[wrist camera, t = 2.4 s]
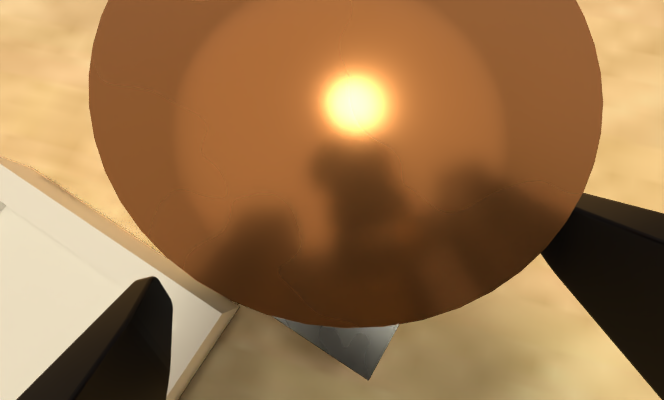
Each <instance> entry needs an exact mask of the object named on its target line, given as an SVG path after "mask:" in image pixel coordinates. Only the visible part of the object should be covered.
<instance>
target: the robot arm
mask: <svg viewBox="0 0 664 400" xmlns="http://www.w3.org/2000/svg"><path fill="white" fill-rule="evenodd" d="M541 255H542V256H543V258H544V259H545V260H546V262H547V263H548V265H549V266H550V267H551V269H552V270H553V271H554V273H555V274H556V275H557V276H558V278H559V279H560V280H561V281H562V282H563V283H564V285H565V286H566V287H567V288H568V289H569V291H570V292H571V293H572V294H573V295H574V296H575V298H576V299H577V300H578V301H579V302H580V304H581V305H582V306H583V307H584V308H585V309H586V311H587V312H588V313H589V314H590V315H591V317H592V318H593V319H594V320H595V321H596V322H597V324H598V325H599V326H600V327H601V328H602V330H603V331H604V332H605V333H606V334H607V335H608V337H609V338H610V339H611V340H612V341H613V343H614V344H615V345H616V346H617V347H618V348H619V350H620V351H621V352H622V353H623V354H624V356H625V357H626V358H627V359H628V360H629V361H630V363H631V364H632V365H633V366H634V367H635V369H636V370H637V371H638V372H639V373H640V374H641V376H642V377H643V378H644V379H645V380H646V382H647V383H648V384H649V385H650V386H651V387H652V389H653V390H654V391H655V392H656V393H657V395H658V396H659V397H660V398H661V399H662V400H664V214H663V213H659V212H656V211H652V210H648V209H644V208H640V207H636V206H632V205H628V204H624V203H621V202H617V201H613V200H609V199H605V198H601V197H597V196H593V195H590V194H586V193H583V194H582V195H581V197H580V199H579V201H578V203H577V204H576V206H575V208H574V210H573V211H572V213H571V215H570V217H569V219H568V220H567V222H566V223H565V224H564V226H563V227H562V228H561V229H560V231H559V232H558V233H557V234H556V236H555V237H554V238H553V240H552V241H551V242H550V243H549V245H548V246H547V247H546V248H545V249H544V250H543V251H542V252H541ZM172 321H173V304H172V301H171V298H170V297H169V295H168V293H167V292H166V290H165V289H164V287H163V285H162V284H161V282H160V281H159V279H158V278H157V277H155V276H150V277H146V278H142V279H138V280H136V281H134V282H133V283H132V284H131V285H130V286H129V287H128V288H127V289H126V290H125V291H124V292H123V293H122V294H121V295H120V296H119V297H118V298H117V299H116V300H115V301H114V302H113V303H112V304H111V305H110V306H109V307H108V308H107V309H106V310H105V311H104V312H103V313H102V314H101V315H100V316H99V317H98V318H97V319H96V320H95V321H94V322H93V323H92V324H91V325H90V326H89V327H88V328H87V329H86V330H85V331H84V332H83V333H82V334H81V335H80V336H79V337H78V338H77V339H76V340H75V341H74V342H73V343H72V344H71V345H70V346H69V347H68V348H67V349H66V350H65V351H64V352H63V353H62V354H61V355H60V356H59V357H58V358H57V359H56V360H55V361H54V362H53V363H52V364H51V365H50V366H49V367H48V368H47V369H46V370H45V371H44V372H43V373H42V374H41V375H40V376H39V377H38V378H37V379H36V380H35V381H34V382H33V383H32V384H31V385H30V386H29V387H28V388H27V389H26V390H25V391H24V392H23V393H22V394H21V395H20V396H19V397H18V398H17V399H16V400H166V396H167V390H168V384H169V376H170V366H171V345H172Z"/></svg>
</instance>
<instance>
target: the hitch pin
mask: <svg viewBox="0 0 664 400" xmlns="http://www.w3.org/2000/svg"><path fill="white" fill-rule="evenodd" d="M89 108H90V114H91V120H92V126H93V132H94V138H95V142H96V145H97V148H98V151H99V154H100V157H101V160H102V163H103V166H104V169H105V172H106V174H107V176H108V178H109V180H110V182H111V184H112V186H113V188H114V190H115V192H116V194H117V196H118V198H119V199H120V201H121V203H122V204H123V206H124V207H125V209H126V210H127V211H128V213H129V214H130V216H131V217H132V218H133V220H134V221H135V223H136V224H137V226H138V227H139V228H140V230H141V231H142V232H143V233H144V234H145V235H146V236H147V237H148V238H149V239H150V240H151V242H152V243H153V244H154V245H155V246H156V247H157V248H158V249H159V250H160V251H161V252H162V253H163V254H164V255H165V256H166V257H167V258H168V259H169V260H171V261H172V262H173V263H174V264H176V265H177V266H178V267H180V268H181V269H182V270H183V271H185V272H186V273H187V274H189V275H190V276H191V277H192V278H194V279H195V280H196V281H198V282H200V283H201V284H203V285H205V286H207V287H208V288H210V289H212V290H214V291H215V292H217V293H219V294H221V295H222V296H224V297H226V298H228V299H229V300H231V301H234V302H236V303H239V304H241V305H244V306H246V307H249V308H251V309H254V310H256V311H259V312H261V313H264V314H266V315H270V316H274V317H278V318H282V319H287V320H291V321H295V322H299V323H303V324H309V325H319V326H328V327H338V328H364V327H386V326H391V325H397V324H403V323H408V322H414V321H419V320H424V319H427V318H430V317H433V316H436V315H439V314H442V313H445V312H448V311H451V310H454V309H457V308H460V307H462V306H464V305H466V304H468V303H470V302H472V301H474V300H476V299H478V298H480V297H482V296H484V295H486V294H488V293H490V292H492V291H493V290H495V289H496V288H498V287H499V286H501V285H502V284H503V283H505V282H506V281H508V280H509V279H511V278H512V277H513V276H515V275H516V274H518V273H519V272H521V271H522V270H523V269H524V268H525V267H526V266H527V265H528V264H529V263H530V262H531V261H532V260H534V259H535V258H536V257H537V256H538V255H539V254H540V253H541V252H542V251H543V250H544V249H545V248H546V247H547V246H548V245H549V243H550V242H551V241H552V240H553V238H554V237H555V236H556V234H557V233H558V232H559V231H560V229H561V228H562V227H563V226H564V224H565V223H566V222H567V220H568V219H569V217H570V215H571V213H572V211H573V210H574V208H575V206H576V204H577V203H578V201H579V199H580V197H581V195H582V194H583V192H584V189H585V186H586V184H587V181H588V178H589V176H590V173H591V171H592V168H593V165H594V162H595V158H596V153H597V149H598V144H599V139H600V135H601V124H602V109H603V97H602V84H601V72H600V68H599V63H598V59H597V54H596V49H595V45H594V42H593V39H592V36H591V34H590V31H589V28H588V25H587V23H586V20H585V17H584V15H583V13H582V11H581V9H580V7H579V5H578V3H577V2H576V0H108V2H107V5H106V7H105V9H104V11H103V13H102V16H101V19H100V23H99V26H98V29H97V33H96V36H95V40H94V43H93V49H92V56H91V63H90V71H89Z"/></svg>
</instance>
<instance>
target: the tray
mask: <svg viewBox="0 0 664 400" xmlns="http://www.w3.org/2000/svg"><path fill="white" fill-rule="evenodd" d="M150 276H155V277H157V278H158V279H159V281H160V282H161V284H162V285H163V287H164V289H165V290H166V292H167V293H168V295H169V297H170V298H171V301H172V304H173V321H172V345H171V366H170V376H169V384H168V390H167V396H166V400H178V399H179V397H180V396H181V394H182V393H183V391H184V390H185V388H186V387H187V385H188V384H189V382H190V381H191V379H192V378H193V376H194V375H195V373H196V372H197V370H198V369H199V367H200V366H201V364H202V363H203V361H204V360H205V358H206V357H207V355H208V354H209V352H210V351H211V349H212V347H213V346H214V344H215V343H216V341H217V340H218V338H219V337H220V335H221V334H222V332H223V331H224V329H225V328H226V326H227V325H228V323H229V322H230V320H231V319H232V317H233V316H234V314H235V313H236V311H237V310H238V308H239V306H238V305H236V304H235V303H233V302H232V301H230V300H229V299H227V298H226V297H224V296H222V295H221V294H219V293H217V292H215V291H214V290H212V289H210V288H208V287H207V286H205V285H203V284H201V283H200V282H198V281H196V280H195V279H194V278H192V277H191V276H190V275H189V274H187V273H186V272H185V271H183V270H182V269H181V268H180V267H178V266H177V265H176V264H174V263H173V262H172V261H171V260H169V259H168V258H166V257H165V256H163V255H162V254H160V253H159V252H157V251H156V250H154V249H153V248H151V247H150V246H148V245H147V244H145V243H144V242H142V241H141V240H139V239H138V238H136V237H135V236H133V235H132V234H130V233H129V232H127V231H126V230H124V229H123V228H121V227H120V226H118V225H117V224H115V223H114V222H112V221H111V220H109V219H108V218H106V217H105V216H103V215H102V214H100V213H99V212H97V211H96V210H95V209H93V208H92V207H90V206H89V205H87V204H86V203H84V202H83V201H81V200H80V199H78V198H77V197H75V196H74V195H72V194H71V193H69V192H68V191H66V190H65V189H63V188H62V187H60V186H59V185H57V184H56V183H54V182H53V181H51V180H50V179H48V178H47V177H45V176H44V175H42V174H41V173H39V172H38V171H36V170H35V169H33V168H32V167H29V166H26V165H24V164H21V163H18V162H15V161H13V160H10V159H7V158H5V157H2V156H0V400H16V399H17V398H18V397H19V396H20V395H21V394H22V393H23V392H24V391H25V390H26V389H27V388H28V387H29V386H30V385H31V384H32V383H33V382H34V381H35V380H36V379H37V378H38V377H39V376H40V375H41V374H42V373H43V372H44V371H45V370H46V369H47V368H48V367H49V366H50V365H51V364H52V363H53V362H54V361H55V360H56V359H57V358H58V357H59V356H60V355H61V354H62V353H63V352H64V351H65V350H66V349H67V348H68V347H69V346H70V345H71V344H72V343H73V342H74V341H75V340H76V339H77V338H78V337H79V336H80V335H81V334H82V333H83V332H84V331H85V330H86V329H87V328H88V327H89V326H90V325H91V324H92V323H93V322H94V321H95V320H96V319H97V318H98V317H99V316H100V315H101V314H102V313H103V312H104V311H105V310H106V309H107V308H108V307H109V306H110V305H111V304H112V303H113V302H114V301H115V300H116V299H117V298H118V297H119V296H120V295H121V294H122V293H123V292H124V291H125V290H126V289H127V288H128V287H129V286H130V285H131V284H132V283H133V282H134V281H136V280H138V279H142V278H146V277H150Z"/></svg>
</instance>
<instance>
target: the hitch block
mask: <svg viewBox="0 0 664 400" xmlns="http://www.w3.org/2000/svg"><path fill="white" fill-rule="evenodd" d="M272 317H274V316H272ZM274 318H275V319H277V320H278V321H280V322H281V323H283V324H284V325H286V326H287V327H289V328H290V329H292V330H293V331H295V332H296V333H298V334H299V335H301V336H302V337H304V338H305V339H307V340H308V341H310V342H311V343H313V344H314V345H316V346H317V347H319V348H320V349H322V350H323V351H325V352H326V353H328V354H329V355H331V356H332V357H334V358H335V359H337V360H338V361H340V362H341V363H343V364H344V365H346V366H347V367H349V368H350V369H352V370H353V371H355V372H356V373H358V374H359V375H361V376H362V377H364V378H365V379H367V380H368V381H369V379H370V377H371V375H372V373H373V371H374V370H375V368H376V366H377V364H378V362H379V360H380V359H381V357H382V355H383V353H384V351H385V350H386V348H387V346H388V344H389V342H390V340H391V339H392V337H393V335H394V333H395V331H396V329H397V328H398V326H399V324H397V325H391V326H386V327H364V328H338V327H328V326H319V325H309V324H303V323H299V322H295V321H291V320H287V319H282V318H278V317H274Z"/></svg>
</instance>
